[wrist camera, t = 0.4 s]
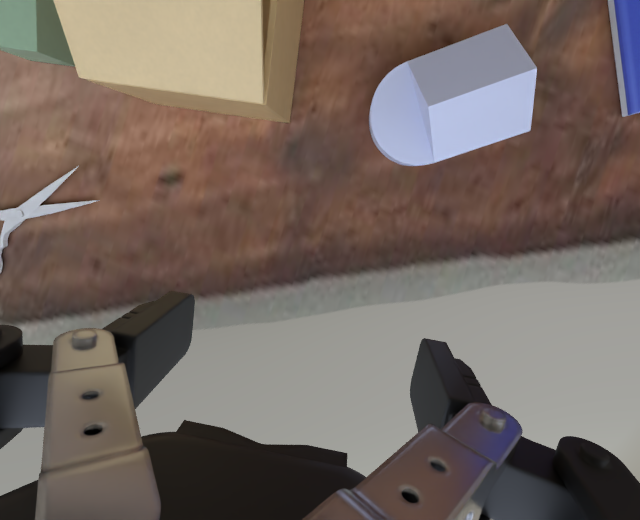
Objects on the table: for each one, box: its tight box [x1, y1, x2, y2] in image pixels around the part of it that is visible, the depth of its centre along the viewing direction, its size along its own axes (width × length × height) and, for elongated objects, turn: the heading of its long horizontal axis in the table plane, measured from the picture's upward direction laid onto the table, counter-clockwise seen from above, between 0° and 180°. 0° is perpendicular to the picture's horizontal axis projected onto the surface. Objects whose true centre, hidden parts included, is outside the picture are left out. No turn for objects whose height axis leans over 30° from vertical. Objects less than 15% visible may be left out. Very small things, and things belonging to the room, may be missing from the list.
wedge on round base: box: [369, 24, 537, 166], centre depth 34 cm, size 9×7×13 cm
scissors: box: [0, 167, 99, 273], centre depth 43 cm, size 11×1×20 cm
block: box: [0, 0, 75, 67], centre depth 36 cm, size 5×5×5 cm
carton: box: [86, 0, 304, 123], centre depth 32 cm, size 16×14×10 cm
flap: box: [53, 0, 264, 103], centre depth 25 cm, size 8×14×1 cm
